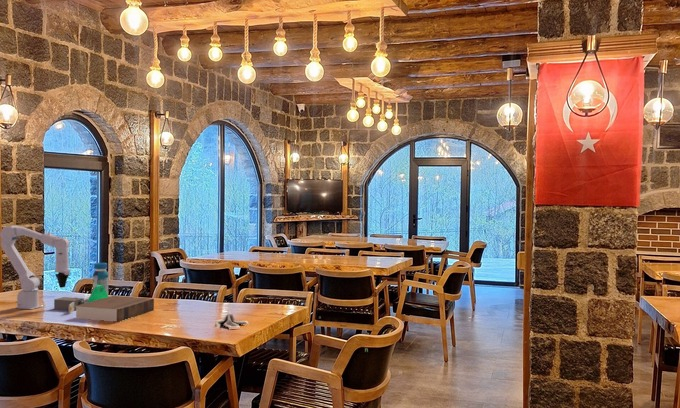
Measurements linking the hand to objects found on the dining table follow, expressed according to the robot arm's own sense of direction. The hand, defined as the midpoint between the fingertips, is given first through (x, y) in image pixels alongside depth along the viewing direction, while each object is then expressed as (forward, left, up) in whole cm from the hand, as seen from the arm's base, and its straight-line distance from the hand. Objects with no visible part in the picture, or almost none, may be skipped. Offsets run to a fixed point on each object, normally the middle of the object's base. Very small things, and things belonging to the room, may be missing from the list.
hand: (62, 287), depth 289 cm
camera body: (+6, -2, -10) cm, 12 cm away
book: (+37, -7, -11) cm, 39 cm away
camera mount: (+14, +12, -11) cm, 22 cm away
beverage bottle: (+3, +27, -11) cm, 29 cm away
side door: (+14, -9, -10) cm, 20 cm away
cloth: (+100, -14, -11) cm, 101 cm away
